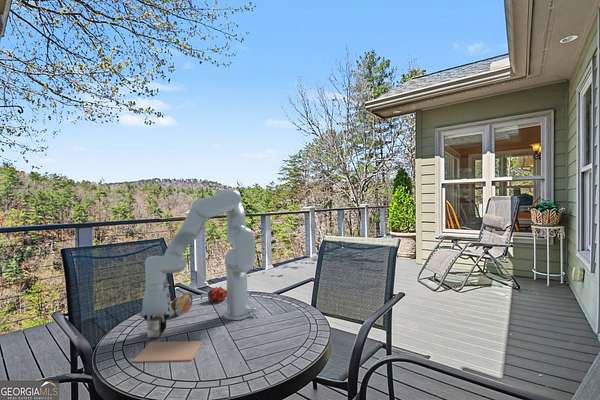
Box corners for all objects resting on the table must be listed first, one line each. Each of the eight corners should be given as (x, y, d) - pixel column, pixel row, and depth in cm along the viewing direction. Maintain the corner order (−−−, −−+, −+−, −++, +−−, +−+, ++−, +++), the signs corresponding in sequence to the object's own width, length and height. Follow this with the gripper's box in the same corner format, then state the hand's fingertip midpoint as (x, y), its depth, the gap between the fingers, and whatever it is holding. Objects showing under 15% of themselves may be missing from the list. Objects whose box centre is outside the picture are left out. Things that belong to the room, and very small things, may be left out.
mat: (202, 342, 124) (202, 340, 124) (191, 360, 110) (191, 359, 110) (150, 343, 123) (150, 342, 123) (132, 362, 109) (132, 361, 109)
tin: (175, 318, 148) (175, 300, 148) (169, 318, 149) (169, 300, 149) (193, 307, 163) (192, 290, 163) (187, 306, 164) (187, 290, 164)
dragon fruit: (205, 306, 169) (226, 304, 176) (212, 299, 164) (233, 298, 171) (203, 291, 173) (223, 290, 181) (209, 284, 168) (230, 283, 176)
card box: (166, 327, 136) (166, 313, 136) (157, 336, 127) (157, 321, 127) (157, 327, 136) (156, 313, 135) (147, 337, 127) (147, 322, 126)
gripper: (179, 283, 135) (181, 326, 135) (139, 284, 134) (141, 327, 135) (173, 288, 127) (174, 334, 128) (130, 289, 127) (132, 335, 127)
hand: (157, 330), depth 131 cm, fingers closed on card box, 4 cm apart
